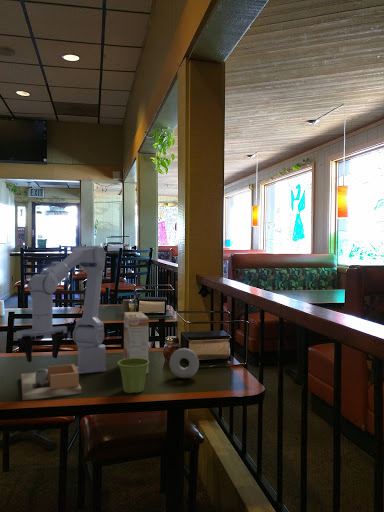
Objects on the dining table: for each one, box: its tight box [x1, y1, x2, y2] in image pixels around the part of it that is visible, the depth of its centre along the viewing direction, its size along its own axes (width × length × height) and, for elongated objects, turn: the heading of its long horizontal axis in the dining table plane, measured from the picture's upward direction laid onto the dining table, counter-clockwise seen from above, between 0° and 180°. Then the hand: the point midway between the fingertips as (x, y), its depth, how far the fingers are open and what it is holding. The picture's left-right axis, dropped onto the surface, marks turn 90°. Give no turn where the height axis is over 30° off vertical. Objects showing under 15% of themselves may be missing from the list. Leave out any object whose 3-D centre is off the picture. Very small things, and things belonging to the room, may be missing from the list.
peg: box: [35, 367, 48, 389], centre depth 124 cm, size 4×4×6 cm
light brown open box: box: [47, 363, 80, 390], centre depth 127 cm, size 8×11×4 cm
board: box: [20, 371, 82, 401], centre depth 129 cm, size 16×22×2 cm
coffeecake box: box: [123, 311, 150, 375], centre depth 149 cm, size 15×7×20 cm, turn 16°
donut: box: [169, 347, 200, 379], centre depth 138 cm, size 10×4×10 cm, turn 85°
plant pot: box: [117, 358, 150, 394], centre depth 125 cm, size 9×9×9 cm
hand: (42, 359), depth 124 cm, fingers open, 7 cm apart
